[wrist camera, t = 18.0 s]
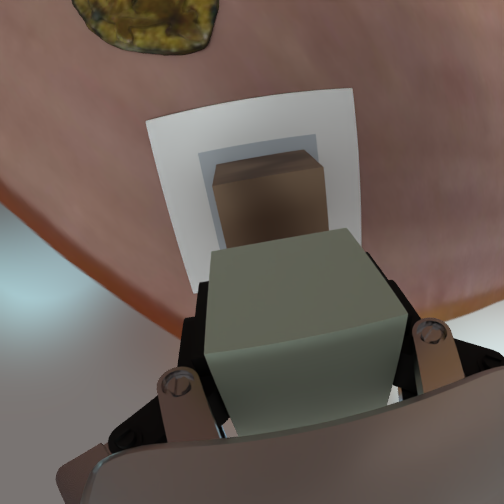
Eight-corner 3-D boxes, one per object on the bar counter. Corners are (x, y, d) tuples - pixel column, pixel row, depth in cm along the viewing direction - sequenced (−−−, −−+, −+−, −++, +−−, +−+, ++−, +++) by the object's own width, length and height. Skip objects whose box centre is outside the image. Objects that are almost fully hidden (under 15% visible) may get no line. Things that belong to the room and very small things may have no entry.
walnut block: (303, 149, 21) (323, 167, 16) (312, 228, 24) (330, 262, 19) (216, 164, 21) (212, 186, 17) (233, 242, 24) (234, 280, 20)
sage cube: (346, 227, 11) (408, 313, 7) (346, 327, 14) (382, 416, 9) (211, 251, 12) (204, 354, 7) (237, 347, 14) (242, 445, 10)
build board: (347, 87, 20) (352, 88, 19) (357, 258, 26) (361, 264, 26) (149, 120, 20) (145, 121, 19) (194, 286, 27) (193, 293, 26)
